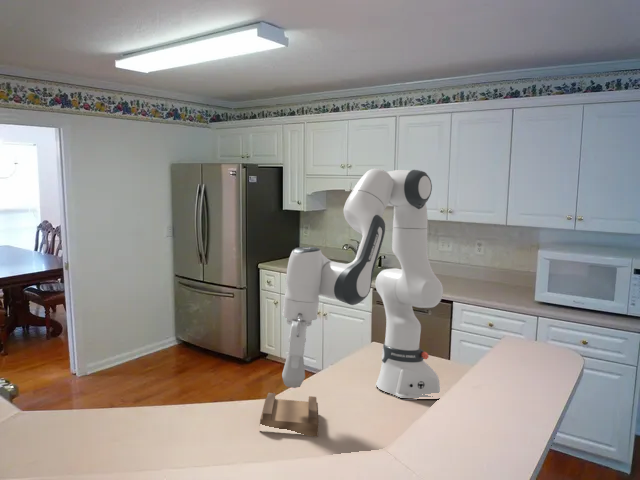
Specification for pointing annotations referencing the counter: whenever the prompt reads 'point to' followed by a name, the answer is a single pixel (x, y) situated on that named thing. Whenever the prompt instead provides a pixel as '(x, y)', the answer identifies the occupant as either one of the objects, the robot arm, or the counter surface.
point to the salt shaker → (293, 372)
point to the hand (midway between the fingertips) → (294, 364)
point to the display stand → (291, 415)
